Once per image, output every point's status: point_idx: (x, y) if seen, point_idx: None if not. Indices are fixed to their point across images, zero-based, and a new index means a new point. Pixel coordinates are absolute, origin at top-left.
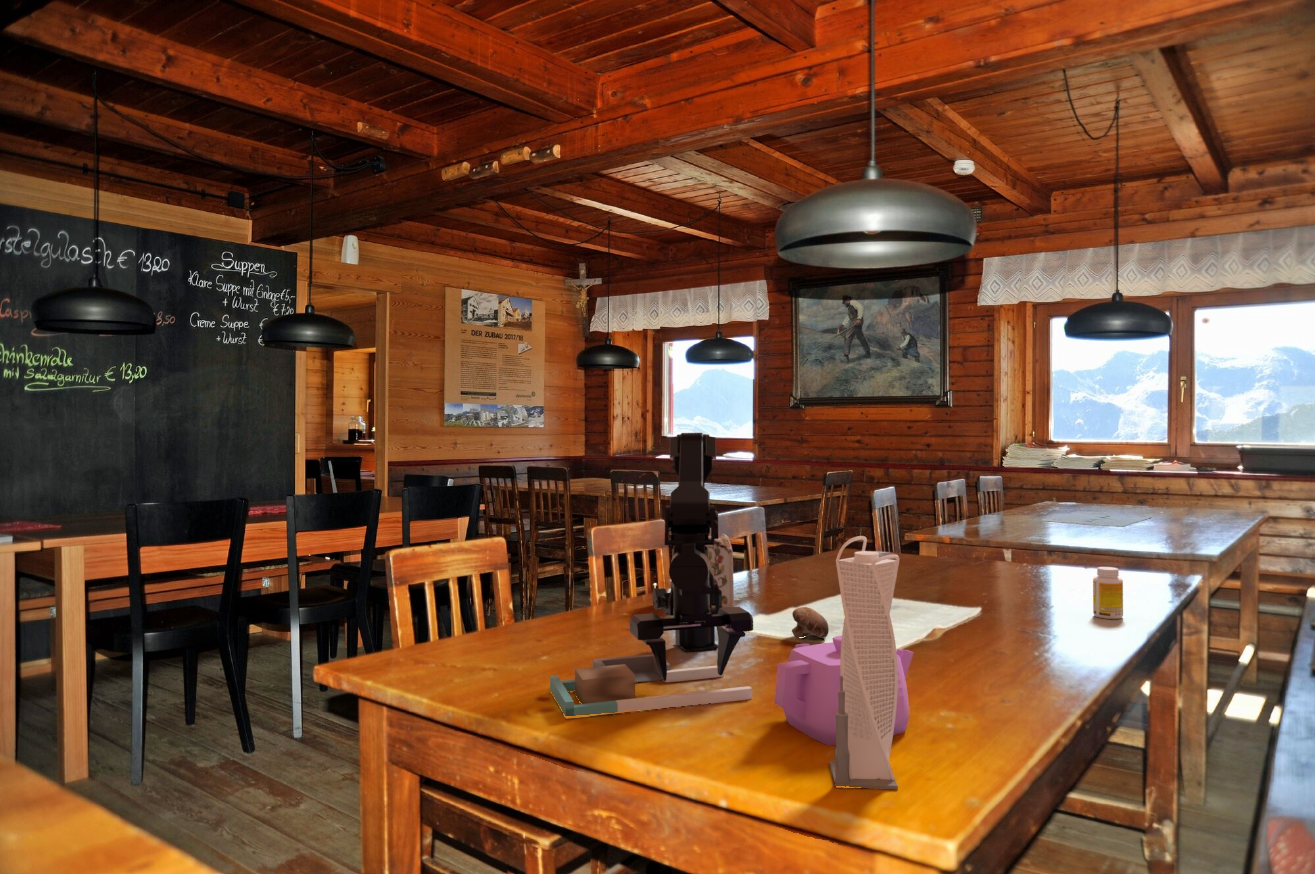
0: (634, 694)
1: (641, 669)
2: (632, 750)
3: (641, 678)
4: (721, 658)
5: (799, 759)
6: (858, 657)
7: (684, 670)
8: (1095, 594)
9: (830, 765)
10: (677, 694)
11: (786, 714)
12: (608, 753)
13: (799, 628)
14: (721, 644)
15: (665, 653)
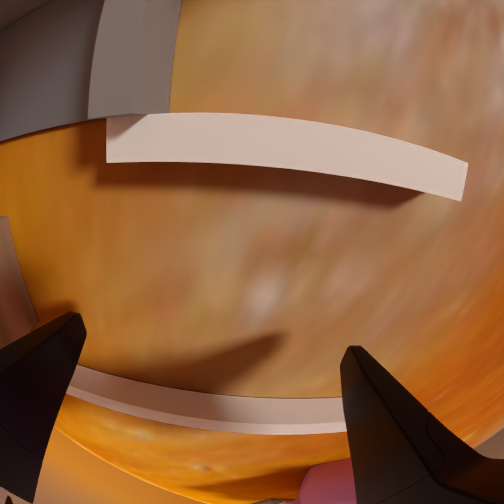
0: (25, 334)
1: None
2: (78, 438)
3: (56, 86)
4: (356, 439)
5: (251, 494)
6: None
7: (231, 156)
8: None
9: (266, 502)
10: (127, 406)
11: (306, 480)
12: (56, 428)
13: None
14: (389, 489)
15: (42, 454)
